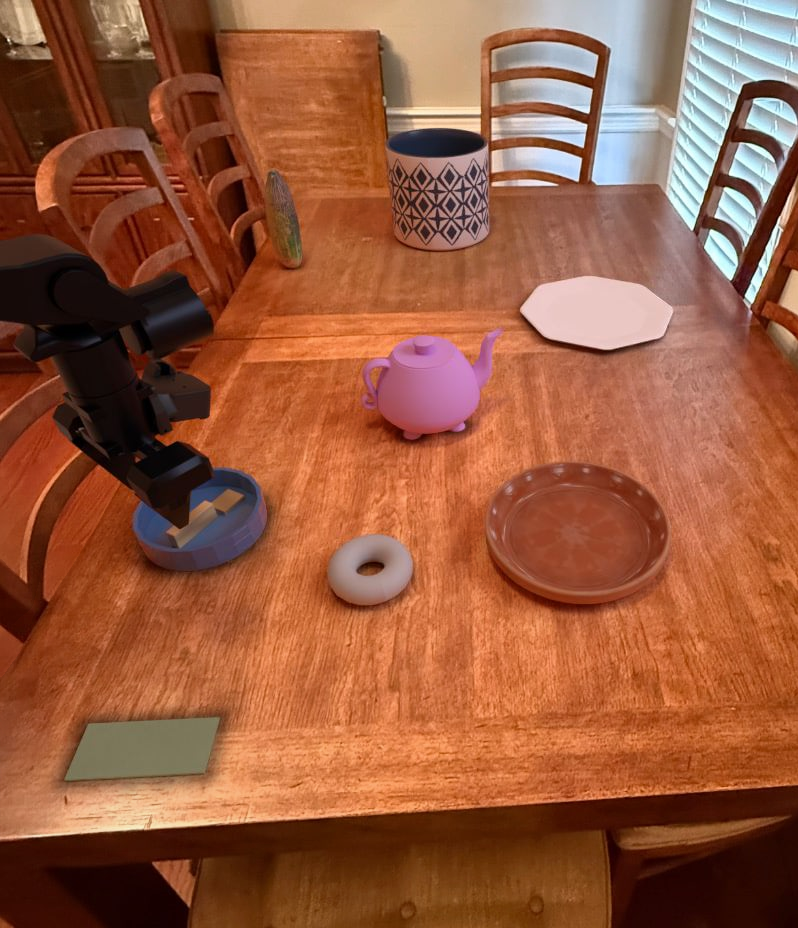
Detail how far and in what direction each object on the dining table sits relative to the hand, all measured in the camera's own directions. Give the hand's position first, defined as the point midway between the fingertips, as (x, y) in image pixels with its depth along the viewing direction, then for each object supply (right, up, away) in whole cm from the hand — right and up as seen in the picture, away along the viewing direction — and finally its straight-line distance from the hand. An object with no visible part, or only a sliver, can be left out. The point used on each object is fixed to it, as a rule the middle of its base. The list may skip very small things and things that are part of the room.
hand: (159, 506), depth 72 cm
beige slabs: (-3, -3, +17) cm, 17 cm away
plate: (+53, +33, +61) cm, 87 cm away
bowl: (-3, -4, +17) cm, 18 cm away
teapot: (+25, +12, +36) cm, 45 cm away
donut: (+20, -9, +11) cm, 25 cm away
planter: (+20, +59, +91) cm, 111 cm away
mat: (+2, -23, -6) cm, 24 cm away
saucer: (+45, -5, +16) cm, 48 cm away
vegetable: (-11, +47, +77) cm, 91 cm away
